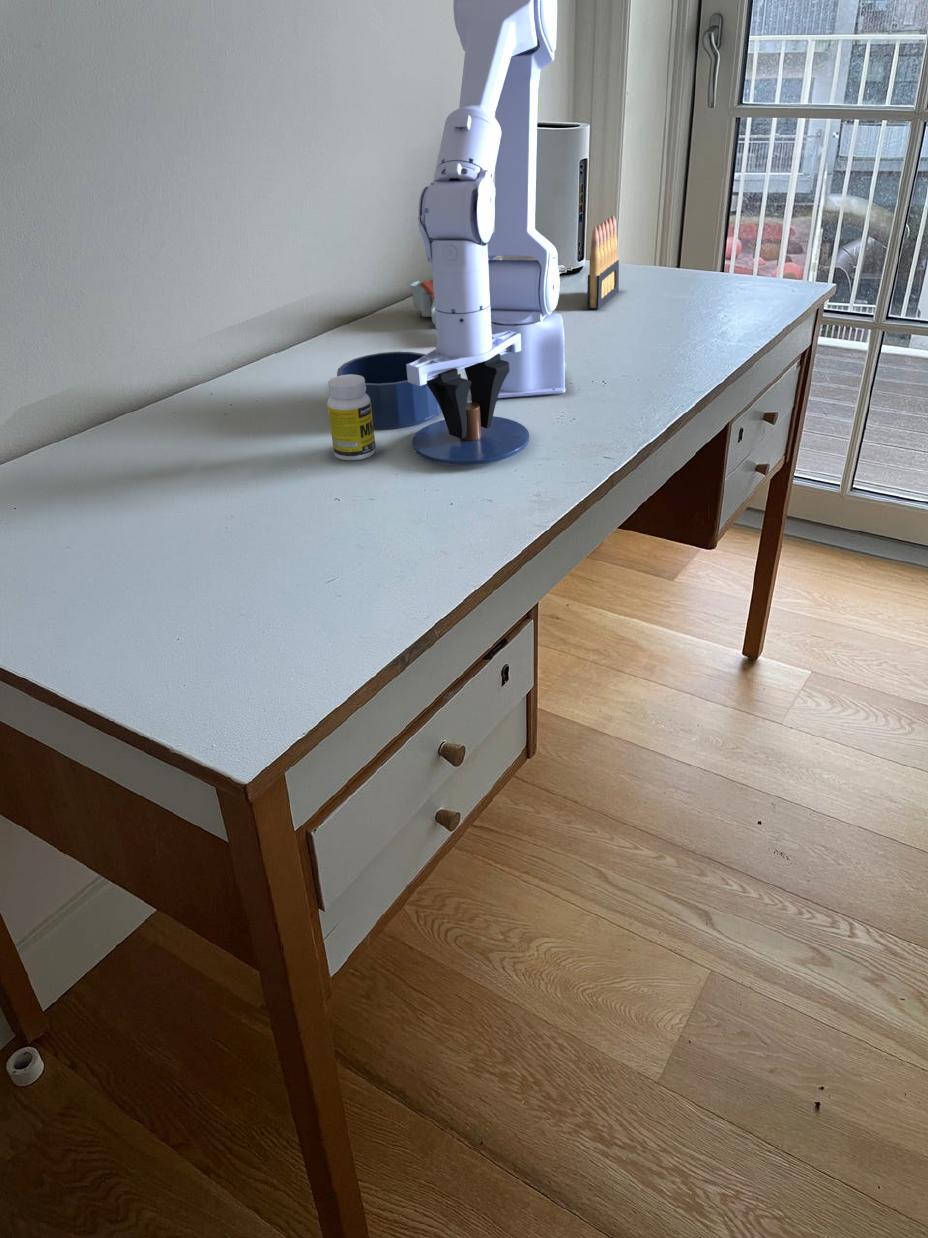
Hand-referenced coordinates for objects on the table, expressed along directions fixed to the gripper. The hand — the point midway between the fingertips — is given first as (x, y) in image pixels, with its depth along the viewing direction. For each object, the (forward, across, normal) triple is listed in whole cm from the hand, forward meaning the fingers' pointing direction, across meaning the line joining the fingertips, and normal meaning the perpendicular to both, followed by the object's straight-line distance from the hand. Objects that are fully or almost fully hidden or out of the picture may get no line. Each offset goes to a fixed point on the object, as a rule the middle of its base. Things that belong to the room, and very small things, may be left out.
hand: (470, 430), depth 108 cm
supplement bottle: (+2, +10, -8) cm, 13 cm away
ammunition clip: (+2, -53, -28) cm, 60 cm away
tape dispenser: (+2, -31, -38) cm, 49 cm away
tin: (+2, -1, -16) cm, 16 cm away
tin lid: (+1, 0, 0) cm, 1 cm away
